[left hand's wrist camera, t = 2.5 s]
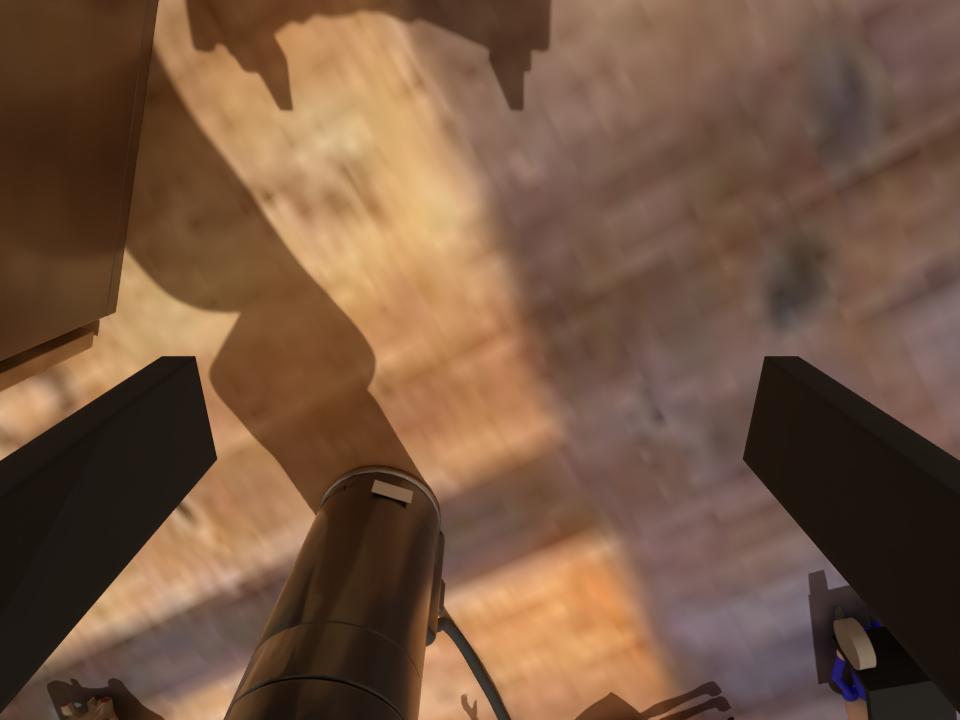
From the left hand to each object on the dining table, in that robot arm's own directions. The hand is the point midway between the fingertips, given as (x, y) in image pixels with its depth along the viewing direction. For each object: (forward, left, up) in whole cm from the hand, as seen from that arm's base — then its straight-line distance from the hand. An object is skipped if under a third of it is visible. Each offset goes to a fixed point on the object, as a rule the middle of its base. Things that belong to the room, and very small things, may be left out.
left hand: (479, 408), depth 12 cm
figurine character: (+42, +23, -23) cm, 53 cm away
